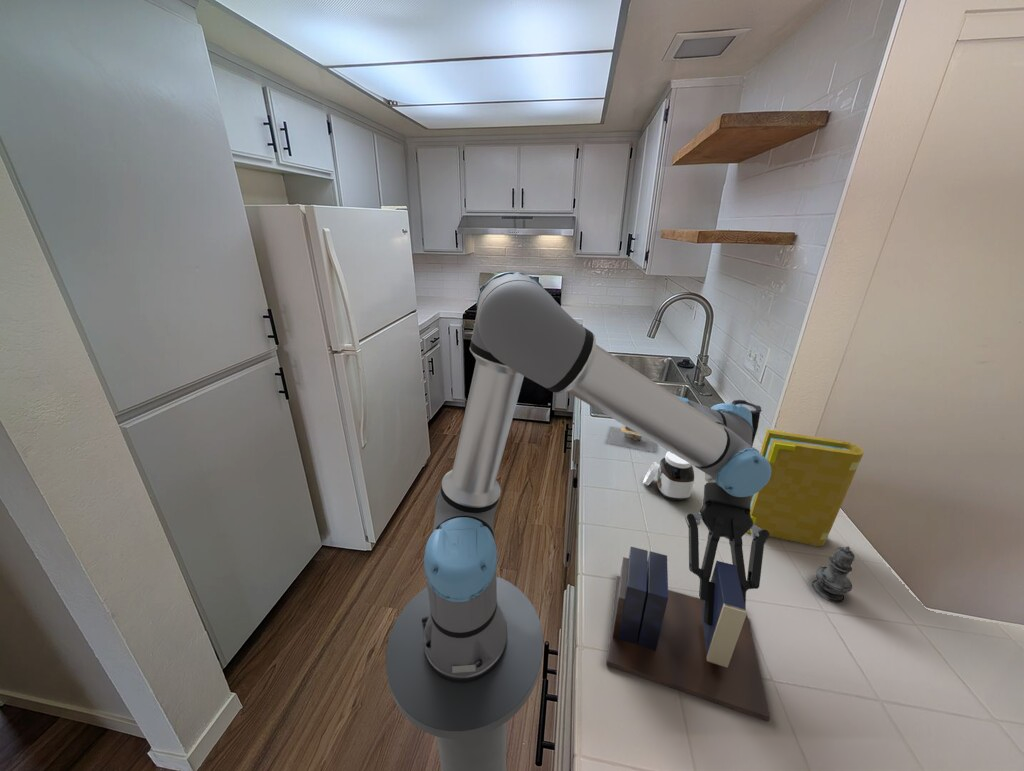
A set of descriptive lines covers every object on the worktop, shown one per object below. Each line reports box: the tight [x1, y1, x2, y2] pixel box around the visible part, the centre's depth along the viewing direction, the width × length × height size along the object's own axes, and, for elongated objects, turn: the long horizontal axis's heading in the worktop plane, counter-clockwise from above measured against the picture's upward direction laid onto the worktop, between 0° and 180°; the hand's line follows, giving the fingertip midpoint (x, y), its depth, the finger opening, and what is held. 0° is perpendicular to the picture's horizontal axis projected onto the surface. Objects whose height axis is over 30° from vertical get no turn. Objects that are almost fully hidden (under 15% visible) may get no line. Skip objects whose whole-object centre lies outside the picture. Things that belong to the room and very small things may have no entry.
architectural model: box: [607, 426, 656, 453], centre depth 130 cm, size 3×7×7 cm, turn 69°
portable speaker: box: [731, 399, 762, 446], centre depth 116 cm, size 9×9×20 cm
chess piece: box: [811, 546, 856, 604], centre depth 76 cm, size 6×6×12 cm
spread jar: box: [642, 450, 695, 501], centre depth 105 cm, size 12×11×12 cm
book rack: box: [605, 546, 771, 722], centre depth 66 cm, size 24×18×14 cm
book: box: [746, 428, 865, 547], centre depth 88 cm, size 17×7×25 cm, turn 72°
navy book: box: [702, 560, 748, 668], centre depth 64 cm, size 3×9×13 cm, turn 161°
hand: (720, 627), depth 63 cm, fingers closed on navy book, 3 cm apart
